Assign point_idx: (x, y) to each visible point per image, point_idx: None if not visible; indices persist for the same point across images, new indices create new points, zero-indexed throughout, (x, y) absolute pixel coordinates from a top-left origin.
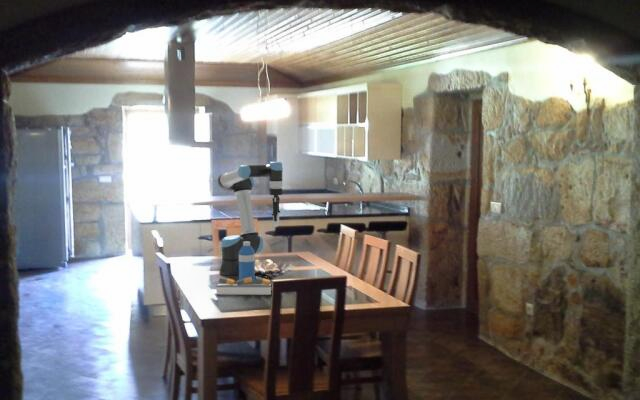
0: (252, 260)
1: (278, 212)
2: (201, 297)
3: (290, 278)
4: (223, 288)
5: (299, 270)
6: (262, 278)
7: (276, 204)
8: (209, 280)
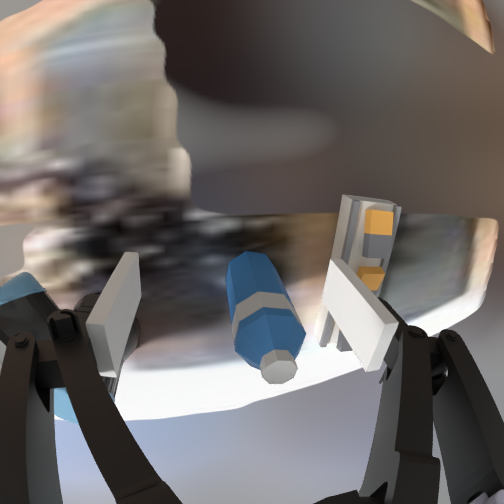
0: (286, 298)
1: (81, 335)
2: None
3: (170, 128)
4: None
5: (47, 109)
6: (374, 237)
7: (499, 438)
8: (200, 367)
